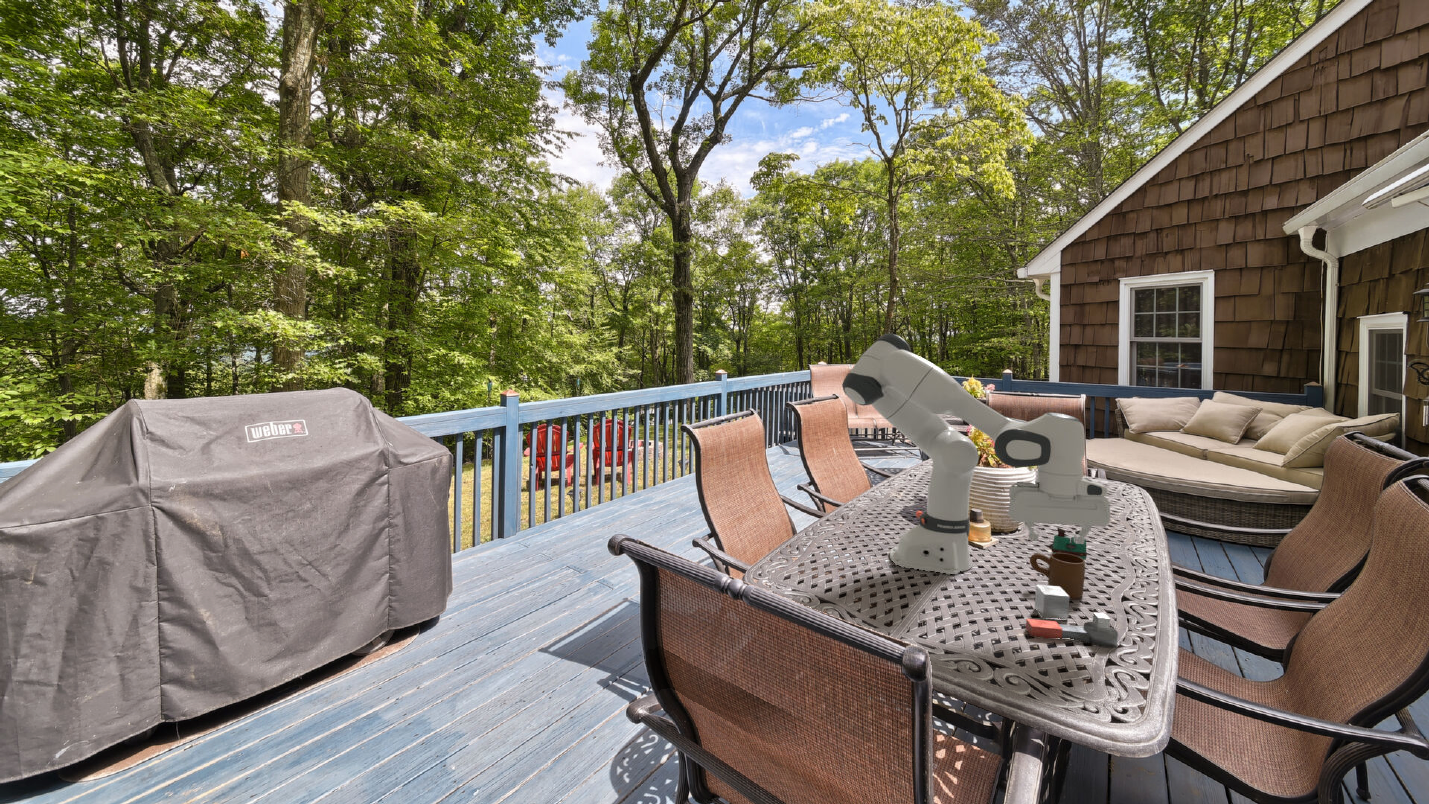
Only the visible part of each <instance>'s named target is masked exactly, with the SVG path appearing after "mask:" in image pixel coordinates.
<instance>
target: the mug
mask: <svg viewBox="0 0 1429 804" xmlns="http://www.w3.org/2000/svg"><path fill="white" fill-rule="evenodd" d="M1037 560H1041V561H1043V562H1044V563H1045V564H1048V568H1046V567H1045V566H1041V565H1040V564H1038V562H1037ZM1029 563H1030V566H1031V568H1032V569H1033V570H1034V571H1036V572H1037V573H1040V574H1043V576H1045V577H1047V580H1048V582H1047V583H1048V585H1047V586H1059V587H1061V588H1062V589H1063V590H1064V591H1065V592H1066V593H1067V594H1068V595H1069V598H1072V599H1071V600H1078V598H1079V599H1081V598H1082V597H1083V595H1084V586H1085V577H1086V576H1085V572H1086V561H1085V560H1083V559H1082V558H1080V557H1078V556H1075V555H1072V554H1067V553H1053V554H1052V553H1051V554H1050V557H1049V556H1047V555H1045V554H1044V553H1034V554H1032V555H1031V556H1030V559H1029Z"/></svg>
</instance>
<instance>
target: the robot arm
mask: <svg viewBox="0 0 1429 804" xmlns="http://www.w3.org/2000/svg"><path fill="white" fill-rule="evenodd" d="M841 386H842V390H843V392H844V394H845V395H846V397H847V398H848V399H849V400H851V401H852V402H853V403H855V404H857V405H859V406H872V407H873V409H875V411H876V412H878V414H879V415H881V416H882V417H883V419H885V420H886V421H887V422H888V423H889V424H891V425H892V426H893V427H894V428H895V429H896V430H897V431H898V432H899V433H901V434H902V435H903V436H904V437H906V438H907V439H908V440H909V441H910V442H911V443H913V445H915V446H916V447H917V448H918V449H920V450H921V451H922V452H923V453H924V454H925V455H926V456H928V458H929V459H931V460H932V469H931V470H932V471H931V476H930V480H929V484H928V486H927V500H926V501H927V502H926V512H925V511H924V513H923V511H922V510H917V511H916V512H915V516H916V518H917V519H918V522H919V524H917V525H916V526H914V527H912V528H910V529H909V530H906V531H905V532H904V533H902V534H901V536H900V538H899V540H898V544H897V546H894V547H892V548H891V549H890V552H889V558H890V560H891V562H892V561H893V562H894V563H895V564H894V563H893V562H892V563H893V564H894V565H896V566H897V565H899V566H901V567H900V568H904V567H905V568H904V569H910V568H914V569H913V570H917V569H919V571H923V570H925V572H930V571H935V572H934V573H936V572H940V573H939V574H943V573H946V574H945V575H950V574H955V575H957V574H959V573H961V572H966V571H968V570H971V568H972V567H973V564H972V560H971V556H970V549H969V547H970V546H969V536H970V535H969V534H970V532H971V531H970V530H971V529H970V528H971V523H970V522H971V521H970V517H969V505H970V491H971V487H972V486H971V485H972V481H973V477H974V474H975V468H976V466H977V465H978V463H979V457H980V456H979V455H980V454H979V451H978V449H977V446H976V445H975V443H974V441H972V439H971V438H969V437H968V436H966V435H964V434H963V433H961V432H960V431H958V430H957V429H956V428H954V427H953V426H952V425H951V424H950V423H948V421H946V420H945V419H944V417H942V416H950V417H955V418H958V419H960V420H962V421H964V422H965V423H967V424H969V425H971V426H972V427H973V428H975V429H977V430H978V431H980V432H982V433H983V434H985V435H987V436H988V438H990V439H992V441H993V442H994V447H993V449H994V452H995V456H996V457H997V459H998V460H1000V461H1001V463H1003V465H1006V466H1009V467H1013V468H1027V467H1028V468H1029V467H1031V468H1032V467H1037V478H1036V482H1032V481H1031V482H1030V481H1029V482H1025V481H1017V482H1016V483H1013V484H1012V485H1010V486H1009V490H1008V491H1009V492H1008V493H1009V499H1010V500H1009V504H1008V512H1007V514H1008V516H1009V518H1010V519H1012V521H1014V522H1018V523H1024V526H1025V527H1026V529H1027V530H1028V532H1029V533H1028V534H1029V535H1028V537H1029V539H1028V540H1029V541H1032V542H1039V538H1040V537H1039V536H1040V535H1039V533H1038V532H1037V531H1034V529H1033V528H1034V527H1035V524H1051V525H1065V526H1068V525H1069V526H1079V527H1080V528H1081V529H1080V530H1081V531H1080V532H1079V534H1075V533H1074V535H1073V537H1074V542H1075V543H1076V544H1084V538H1086V537H1087V536H1088V534H1089V533H1090V532H1091V529H1092V527H1102V528H1103V527H1104V528H1105V527H1107V526H1108V525H1110V522H1111V506H1110V502H1109V499H1108V498H1107V497H1106V496H1107V495H1108V488H1107V487H1106V486H1105V485H1103V484H1101V483H1099V482H1097V481H1094V480H1092V479H1089V478H1087V477H1084V469H1083V463H1082V462H1083V458H1084V457H1085V452H1086V451H1085V449H1086V448H1085V447H1086V443H1085V442H1086V437H1085V435H1086V434H1085V427H1084V425H1083V423H1082V422H1081V420H1080V419H1078V418H1077V417H1074V416H1071V415H1069V414H1066V413H1065V414H1064V413H1058V412H1046V413H1044V414H1043V415H1042V416H1041V415H1040V416H1038V417H1037V418H1034V419H1032V420H1029V421H1025V420H1022V419H1017V418H1012V417H1008V416H1005V415H1003V414H1002V413H1000V412H998V411H997V410H995V409H993V408H992V407H991V406H989V405H987V404H986V403H984V402H982V401H980V400H979V399H978V398H976V397H974V396H973V395H972V394H970V393H969V391H967V389H965V388H964V387H963V386H962V385H961V384H960V383H959V382H958V381H957V380H956V379H955V378H953V377H952V376H951V375H950V374H949V373H947V372H946V371H945V370H944V369H942V368H941V367H940V366H937V365H936V364H934V363H933V362H931V361H929V360H928V359H926V358H924V357H922V356H919V355H917V354H916V353H913V352H912V351H911V347H910V345H909V344H908V342H907V341H906V340H905V339H904V338H902V337H901V336H899V335H897V334H894V333H884V334H883V335H881V336H880V337H878V338H877V339H876V340H875V341H874V343H873V344H872V345H871V346H869V347H868V348H867V349H866V351H864V352H863V354H862V355H861V356H860V357H859V359H858V360H857V362H856V363H855V365H854V366H853V367H852V369H851V370H850V372H849V373H847V374H846V376H845V377H844V379H843V381H842V385H841ZM941 415H942V416H941ZM899 566H898V567H899ZM960 571H961V572H960Z"/></svg>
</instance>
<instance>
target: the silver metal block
mask: <svg viewBox="0 0 1429 804" xmlns="http://www.w3.org/2000/svg"><path fill="white" fill-rule="evenodd" d="M1034 596H1035V597H1034V610H1035V609H1037V611H1038V612H1039V613H1040V615H1041V616H1042V617H1041V616H1040V615H1039V616H1040V617H1041V618H1058V619H1059V618H1060V619H1066V620H1069V619H1068V618H1069V606H1070V605H1069V604H1070V599H1069V595H1068V594H1067V593H1066V592H1065V591H1064V590H1063V589H1062V588H1061V587H1059V586H1048V585H1045V584H1035V595H1034ZM1037 611H1036V612H1037ZM1038 612H1037V613H1038Z"/></svg>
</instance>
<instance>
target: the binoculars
mask: <svg viewBox="0 0 1429 804" xmlns="http://www.w3.org/2000/svg"><path fill="white" fill-rule="evenodd" d="M1056 529H1057V530H1056V531H1057V534H1054V537H1053V543H1051V544H1049V545H1048V549H1050V550H1051V554H1053V553H1067V554H1072V555H1075V556H1078V557H1080V558H1082V559H1083V560H1084V561H1085V560H1087V556H1088V553H1087V539H1086V537H1084V544H1076V543H1075V542H1074V536H1071V537H1069V536H1067V535H1065V533H1066V532H1067V531H1066V530H1065V529H1063V528H1061V527H1057V528H1056ZM1080 531H1081V529H1080V530H1076V531H1075V532H1074V534H1079V532H1080Z"/></svg>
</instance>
